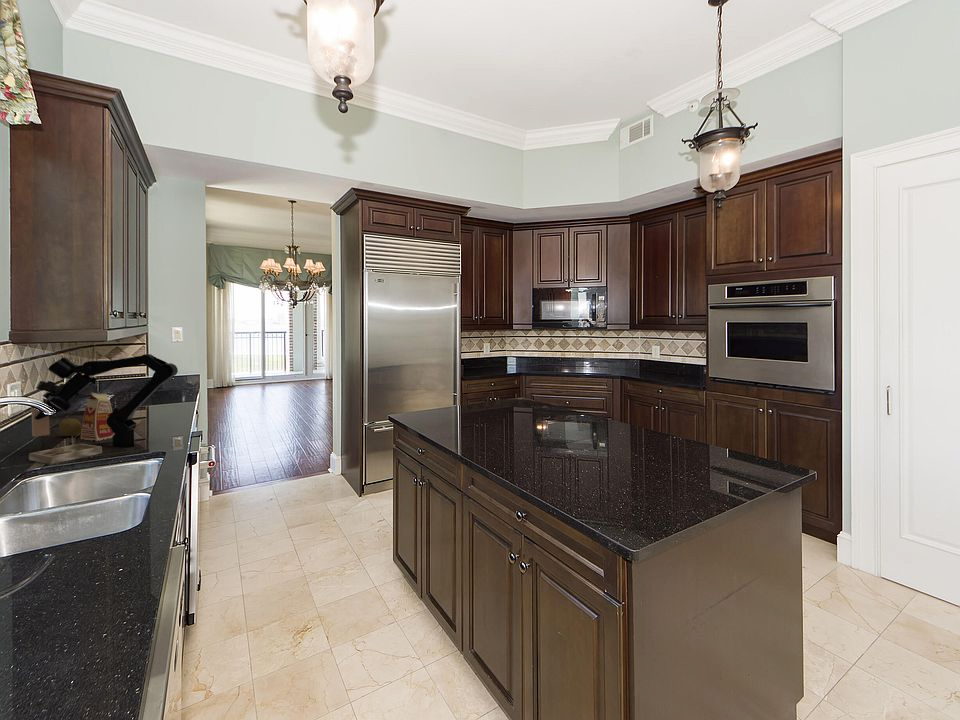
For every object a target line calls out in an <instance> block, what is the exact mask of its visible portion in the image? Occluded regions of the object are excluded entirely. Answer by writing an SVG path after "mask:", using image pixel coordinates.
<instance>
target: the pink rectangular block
mask: <svg viewBox="0 0 960 720" xmlns="http://www.w3.org/2000/svg"><path fill="white" fill-rule="evenodd" d="M30 408H31V407H30ZM30 410H31V433H32V437H41V436H42V437H43V436H44V437H45V436H50V435H51V434H50V433H51V430H50V415H49V416H46V417H44V418H41V419H39V420H37V419H35V417H36V416H37V415H38V414H39V412H40V411H38V410H36V409H33V408H31V409H30Z"/></svg>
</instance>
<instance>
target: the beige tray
mask: <svg viewBox="0 0 960 720" xmlns="http://www.w3.org/2000/svg"><path fill="white" fill-rule="evenodd" d="M100 454H103V447H102V446H101V445H93V444H86V443H78V444H71V445H65V446H61V447H60V446H59V447H55V448H51V449H45V450H39V451H35V452H29V453H28V460H29V461H32V462H37V463H42V464H49V465H54V464H58V463H63V462H68V461H73V460H77V459H81V458H82V459H83V458H87V457H90V456H95V455H100Z"/></svg>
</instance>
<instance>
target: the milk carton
mask: <svg viewBox="0 0 960 720" xmlns="http://www.w3.org/2000/svg"><path fill="white" fill-rule="evenodd" d="M112 412H113V408H112V403H111V400H110V399H109V398H108V393H97V392H96V393H95V392H91V396H90V397H89V398H88V399H87V403H86V406H85V409H84V414H83V419H82V423H81V425H82V429H81V433H80V440H83V439H84V440H85V441H93V440H95V441H96V442H99V441H102V440H103V439H104V440H108V439H113V435H114V433H113V431H112V429H111V428H110V427H109V426H108V425H107V421H106V420H107V418H108V417H109V416H107V415H109V414H111V413H112ZM107 438H108V439H107ZM98 440H99V441H98Z"/></svg>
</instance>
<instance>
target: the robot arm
mask: <svg viewBox="0 0 960 720" xmlns="http://www.w3.org/2000/svg"><path fill="white" fill-rule="evenodd" d="M141 365H142V366H143V365H144V366H146V367H148V368H149V369H150V370H151V371H153V374H152V377H151V378H150V380H149V381H148V382H147V383H146V384H145V385H144V386H143V387H142V388H141V389H140V390H139V391H138V392H137V393H136V394H135V395H134V396H133V397H132V398H131V399H130V400H129V401H128V402H127V403H126V404H125V405H124V406H123V405H119V406H116V407H115V408H114V409H112V413H111V414H109V415H107V416H109V417H108V418H107V420H106V421H107V425H108V426H109V427H110V428H111V429H112V431H113V433H114V435H113V437H112V446H113V447H114V448H129V447H135V446H136V442H135V441H136V440H135V429H136V427H137V424H138V423H137V422H136V421H134V420H133V419H132V418H133V417H134V414H135V413H136V411H137V410H138V409H139V408H140V407H141V406H142V405H143V404H144V403H145V402H146V401H147V400H148V399H149V397H151V396H152V394H154V393H155V391H156V390H158V389H159V387H161V386H162V385H163V384H165V383H166V382H168V381H169V380H171V379H172V378H173V377H175V376H177V374H178V372H179V370H178V366H177V365H175V364H174V363H171V362H170V363H168V362H166V361H165V360H162V359H160V358H158V357H156V356H154V355H152V354H150V353H146V354H142V355H138V356H132V357H125V358H120V359H112V360H111V359H109V360H107V359H105V360H104V359H101V360H99V359H98V360H97V359H96V360H89V361H85V362H83V364H80V365H79V364H78V365H77V364H75V363H73V362H72V361H70V360H69V359H68V358H67V357H61V358H60V359H58V360H57V361H55V362H54V363H52V364H51V365H50V366H49V367H48V371H50V372H51V373H52V374H53V375H55V376H57V377H58V378H59V379H62V380H65V379H66V382H64V383H61V384H59V385H57V384H55V382H54V381H50V380H48V381H44V380H40V381H39V383H38V384H37V386H36V387H35V388H36V389H37V390H38V391H45V393H44V394H42V396H43V398H42V401H43V402H44V403H46V404H48V405H49V406H51V407H52V408H54V409H55V410H56V411H57V413H60V412H63V411H65V412H67V411H68V410H69V409H70V408H71V403H70V401H71V400H73V398H75V397H78V396H79V395H80V393H81V392H82V391H83V390H84V389H85V388H87V387H88V386H90V384H92V385H94V386H98V384H97V381H98V379H97V377H93V376H98V375H99V376H100V375H101V374H105V373H107V372H110V371H114V370H117V369H123V368H129V367H130V368H131V367H134V366H141ZM43 402H42V403H43ZM46 416H49V417H50V415H45V414H44V413H42V412H39V414H38V415H37V416H36V417H35V419H37V420H39V419H41V418H44V417H46Z"/></svg>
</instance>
